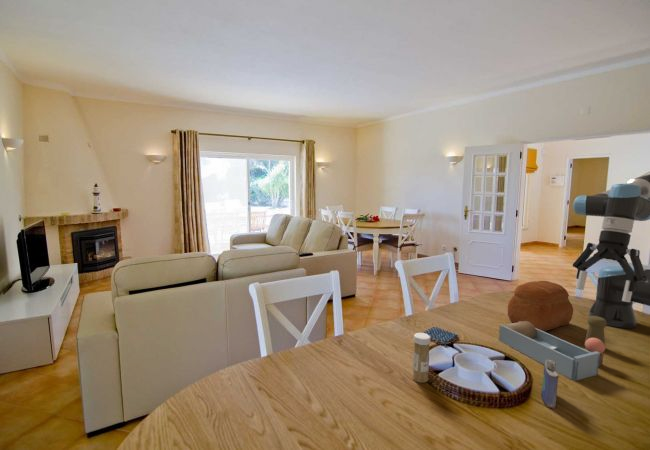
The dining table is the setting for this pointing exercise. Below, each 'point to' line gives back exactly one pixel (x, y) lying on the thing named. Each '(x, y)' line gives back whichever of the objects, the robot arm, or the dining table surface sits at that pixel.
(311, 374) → the dining table surface
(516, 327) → the long open box
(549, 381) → the flask
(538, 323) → the bread
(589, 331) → the cork
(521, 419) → the dining table surface
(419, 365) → the sprinkles bottle
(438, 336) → the woven mat
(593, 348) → the ball
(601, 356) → the hollow square tube
